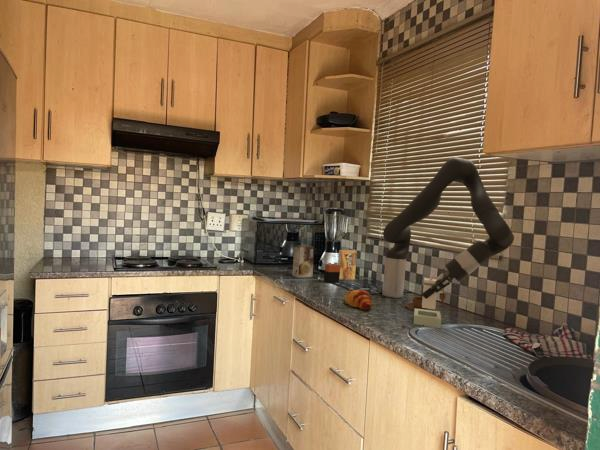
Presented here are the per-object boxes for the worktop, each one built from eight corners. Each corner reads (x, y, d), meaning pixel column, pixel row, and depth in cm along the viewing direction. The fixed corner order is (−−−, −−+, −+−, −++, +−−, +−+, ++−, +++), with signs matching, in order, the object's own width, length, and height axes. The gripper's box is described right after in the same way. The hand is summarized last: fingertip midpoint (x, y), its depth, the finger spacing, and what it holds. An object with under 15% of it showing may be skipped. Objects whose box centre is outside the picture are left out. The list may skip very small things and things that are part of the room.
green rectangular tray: (413, 316, 167) (414, 308, 166) (438, 319, 164) (439, 311, 164) (413, 324, 155) (414, 315, 155) (440, 327, 153) (441, 319, 153)
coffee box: (306, 275, 240) (308, 245, 239) (312, 277, 235) (315, 246, 234) (291, 275, 235) (294, 245, 234) (297, 277, 230) (300, 246, 229)
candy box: (351, 278, 241) (354, 250, 240) (354, 279, 237) (357, 251, 236) (336, 278, 238) (338, 249, 237) (339, 279, 234) (341, 250, 233)
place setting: (398, 304, 187) (399, 290, 187) (442, 306, 191) (443, 292, 190) (415, 315, 170) (417, 300, 170) (464, 317, 173) (465, 302, 173)
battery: (339, 283, 223) (341, 263, 223) (327, 283, 221) (328, 263, 220) (335, 281, 227) (336, 262, 227) (323, 281, 225) (325, 261, 224)
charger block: (421, 305, 162) (424, 273, 161) (434, 306, 161) (437, 274, 160) (421, 307, 158) (424, 275, 157) (435, 309, 156) (438, 276, 156)
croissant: (341, 307, 187) (334, 290, 186) (361, 296, 190) (354, 279, 188) (362, 320, 167) (354, 301, 166) (384, 307, 169) (377, 289, 168)
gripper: (453, 255, 163) (416, 284, 167) (456, 259, 150) (416, 290, 153) (467, 271, 162) (430, 299, 166) (472, 276, 148) (431, 307, 152)
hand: (423, 295), depth 160 cm, fingers closed on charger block, 4 cm apart
